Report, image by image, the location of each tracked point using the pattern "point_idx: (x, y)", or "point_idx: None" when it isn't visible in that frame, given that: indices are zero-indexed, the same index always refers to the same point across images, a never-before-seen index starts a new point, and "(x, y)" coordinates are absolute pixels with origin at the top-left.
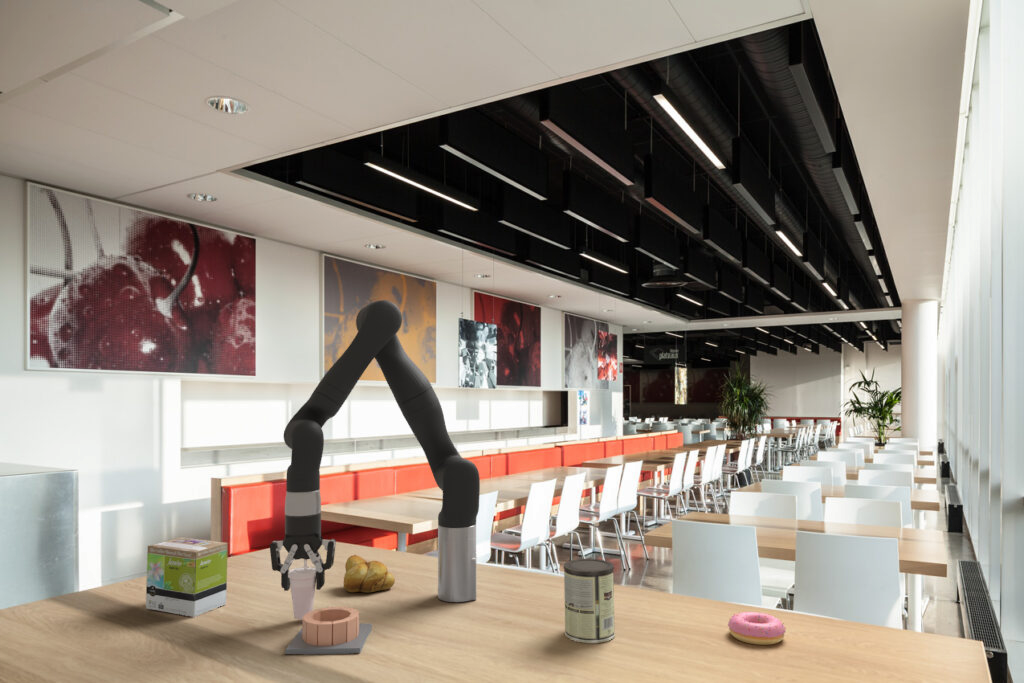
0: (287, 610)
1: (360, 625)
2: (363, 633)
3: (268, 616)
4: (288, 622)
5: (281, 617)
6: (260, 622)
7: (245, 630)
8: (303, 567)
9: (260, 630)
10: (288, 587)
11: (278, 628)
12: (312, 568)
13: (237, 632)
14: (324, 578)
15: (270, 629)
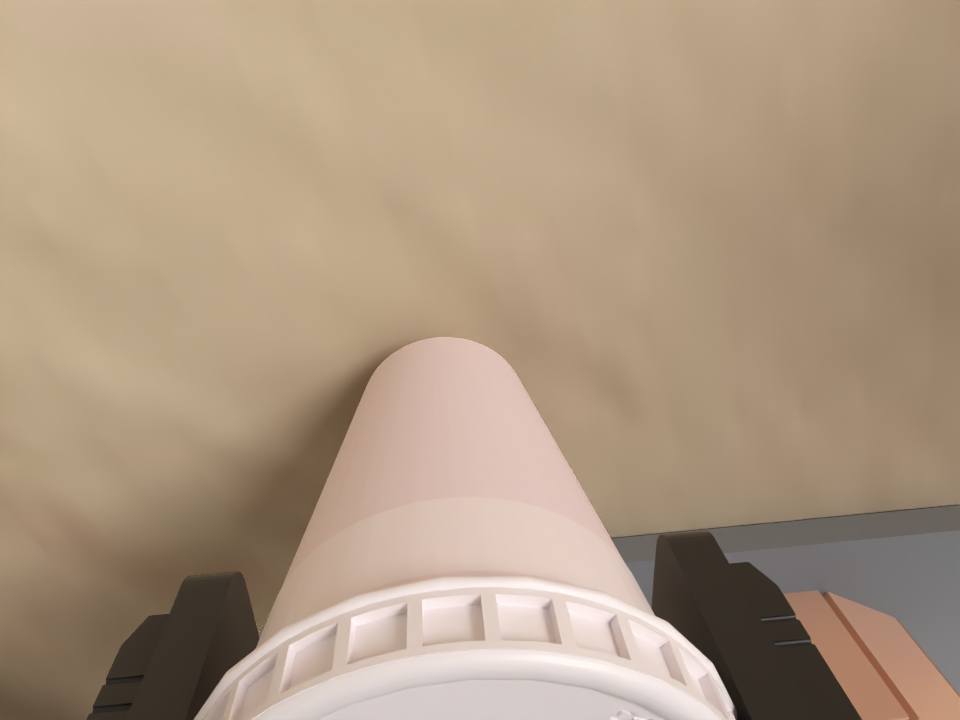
0: (121, 42)
1: (944, 563)
2: (952, 682)
3: (24, 259)
4: (319, 412)
5: (182, 286)
6: (55, 423)
7: (52, 589)
8: (387, 695)
9: (175, 582)
10: (245, 642)
11: (299, 538)
12: (622, 714)
13: (16, 626)
14: (808, 646)
15: (244, 560)
